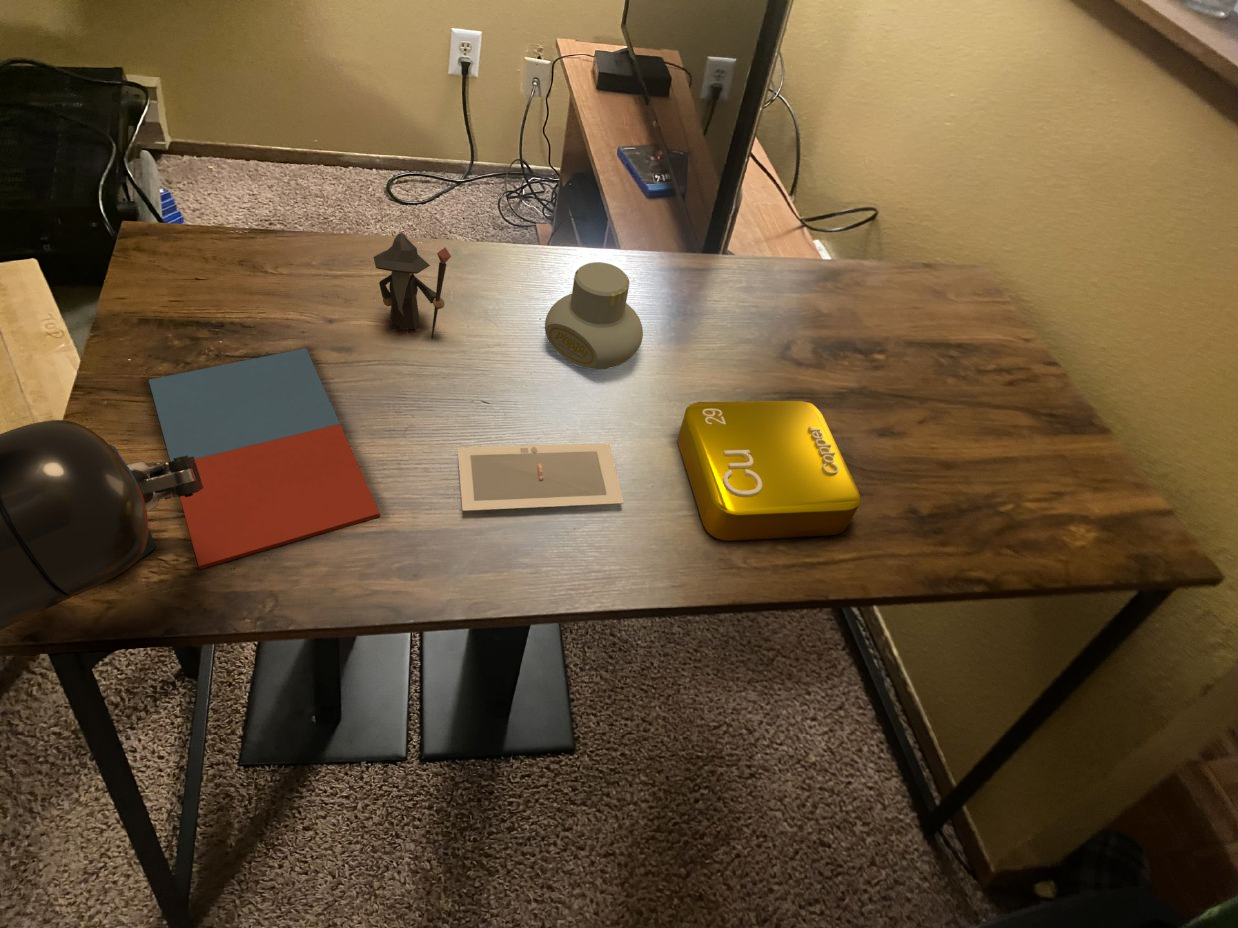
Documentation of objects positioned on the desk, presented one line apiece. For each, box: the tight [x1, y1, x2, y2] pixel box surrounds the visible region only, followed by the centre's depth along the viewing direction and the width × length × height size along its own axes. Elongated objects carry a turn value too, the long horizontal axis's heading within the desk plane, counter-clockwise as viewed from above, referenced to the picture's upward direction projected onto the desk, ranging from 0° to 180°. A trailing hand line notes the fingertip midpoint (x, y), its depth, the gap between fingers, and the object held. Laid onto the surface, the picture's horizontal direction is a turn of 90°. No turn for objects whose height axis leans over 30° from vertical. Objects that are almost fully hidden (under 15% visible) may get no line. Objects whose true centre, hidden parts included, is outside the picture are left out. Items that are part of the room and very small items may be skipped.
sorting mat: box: [148, 347, 381, 570], centre depth 78 cm, size 15×24×1 cm, turn 29°
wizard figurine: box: [373, 232, 452, 339], centre depth 89 cm, size 8×6×12 cm
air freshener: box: [544, 261, 644, 370], centre depth 91 cm, size 11×8×10 cm
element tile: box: [677, 400, 861, 542], centre depth 83 cm, size 15×15×5 cm
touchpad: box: [457, 442, 625, 512], centre depth 80 cm, size 8×15×2 cm, turn 101°
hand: (96, 496), depth 62 cm, fingers open, 8 cm apart
